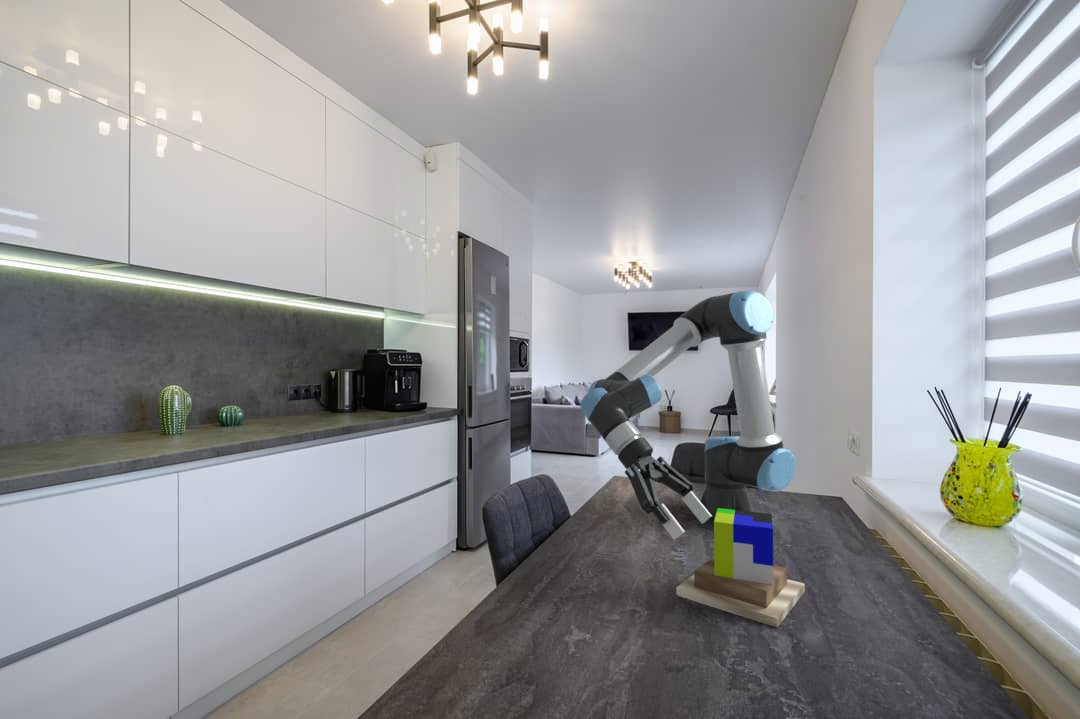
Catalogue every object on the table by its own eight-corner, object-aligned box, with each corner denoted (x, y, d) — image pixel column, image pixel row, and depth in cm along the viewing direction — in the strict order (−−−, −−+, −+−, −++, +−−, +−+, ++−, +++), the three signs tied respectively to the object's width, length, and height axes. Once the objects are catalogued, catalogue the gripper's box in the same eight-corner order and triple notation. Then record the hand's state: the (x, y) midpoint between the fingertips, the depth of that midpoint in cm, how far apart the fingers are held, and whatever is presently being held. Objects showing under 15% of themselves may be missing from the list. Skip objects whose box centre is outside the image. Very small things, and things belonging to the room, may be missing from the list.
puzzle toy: (773, 584, 89) (772, 528, 89) (714, 575, 93) (714, 521, 93) (771, 564, 98) (771, 513, 98) (718, 557, 102) (717, 508, 102)
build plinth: (713, 567, 108) (713, 546, 108) (804, 591, 96) (804, 568, 96) (676, 595, 95) (676, 571, 95) (777, 627, 83) (777, 600, 83)
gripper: (646, 450, 123) (705, 523, 113) (588, 464, 104) (653, 554, 94) (666, 430, 120) (728, 504, 110) (609, 441, 101) (679, 532, 91)
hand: (694, 527), depth 102 cm, fingers open, 13 cm apart
